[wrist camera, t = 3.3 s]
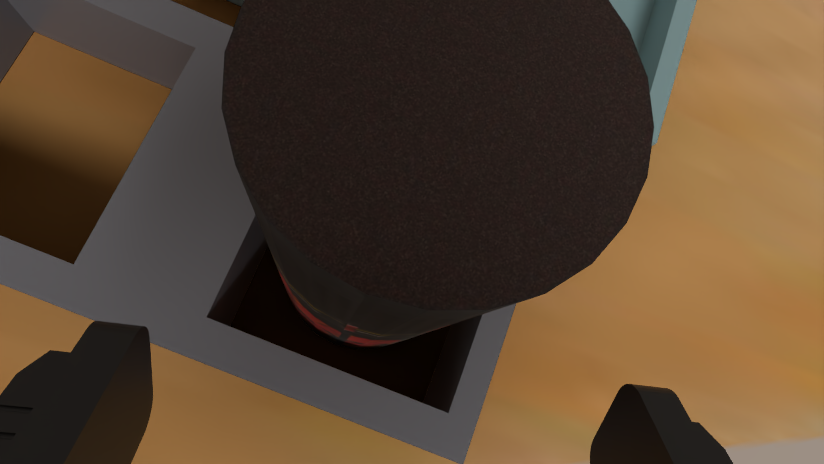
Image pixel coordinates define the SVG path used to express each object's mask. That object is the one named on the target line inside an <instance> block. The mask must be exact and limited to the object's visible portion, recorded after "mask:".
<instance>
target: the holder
mask: <svg viewBox="0 0 824 464" xmlns="http://www.w3.org/2000/svg"><path fill="white" fill-rule="evenodd" d="M233 28H234V27H232V26H229V25H227V24H225V23H222V22H220V21H218V20H215V19H213V18H211V17H208V16H206V15H204V14H201V13H199V12H197V11H194V10H192V9H190V8H187V7H185V6H183V5H180V4H178V3H176V2H173V1H171V0H0V82H1V80H2V79H3V77H4V76H5V74H6V73H7V71H8V70H9V68H10V67H11V65H12V64H13V62H14V61H15V59H16V58H17V56H18V55H19V53H20V52H21V50H22V49H23V47H24V46H25V44H26V43H27V41H28V40H29V38H30V37H31V35H32V34H33V32H37V33H39V34H41V35H44V36H46V37H49V38H51V39H53V40H56V41H58V42H61V43H63V44H65V45H68V46H70V47H72V48H75V49H77V50H80V51H82V52H84V53H87V54H89V55H91V56H94V57H96V58H99V59H101V60H103V61H106V62H108V63H111V64H113V65H115V66H118V67H120V68H122V69H125V70H127V71H130V72H132V73H134V74H137V75H139V76H142V77H144V78H146V79H149V80H151V81H153V82H156V83H158V84H161V85H163V86H165V87H168V88H170V89H172V91H171V92H170V94H169V96H168V98H167V100H166V101H165V103H164V105H163V107H162V108H161V110H160V112H159V114H158V115H157V117H156V119H155V121H154V123H153V124H152V126H151V128H150V130H149V131H148V133H147V135H146V137H145V139H144V140H143V142H142V144H141V146H140V147H139V149H138V151H137V153H136V155H135V156H134V158H133V160H132V162H131V163H130V165H129V167H128V169H127V171H126V172H125V174H124V176H123V178H122V179H121V181H120V183H119V185H118V186H117V188H116V190H115V192H114V194H113V195H112V197H111V199H110V201H109V202H108V204H107V206H106V208H105V210H104V211H103V213H102V215H101V217H100V218H99V220H98V222H97V224H96V226H95V227H94V229H93V231H92V233H91V234H90V236H89V238H88V240H87V242H86V243H85V245H84V247H83V249H82V250H81V252H80V254H79V256H78V257H77V259H76V261H75V263H74V264H71V263H69V262H66V261H64V260H61V259H58V258H56V257H53V256H51V255H48V254H46V253H43V252H41V251H38V250H36V249H33V248H31V247H28V246H26V245H23V244H21V243H18V242H16V241H13V240H11V239H8V238H6V237H3V236H1V235H0V284H2V285H5V286H8V287H10V288H13V289H15V290H18V291H20V292H23V293H25V294H28V295H30V296H33V297H36V298H38V299H41V300H43V301H46V302H48V303H51V304H53V305H56V306H59V307H61V308H64V309H66V310H69V311H71V312H74V313H76V314H79V315H82V316H84V317H87V318H89V319H92V320H94V321H103V322H112V323H121V324H129V325H138V326H145V327H147V328H148V331H149V336H150V343H153V344H156V345H158V346H161V347H163V348H166V349H168V350H171V351H173V352H176V353H179V354H181V355H184V356H186V357H189V358H191V359H194V360H196V361H199V362H202V363H204V364H207V365H209V366H212V367H214V368H217V369H219V370H222V371H224V372H227V373H230V374H232V375H235V376H237V377H240V378H242V379H245V380H247V381H250V382H253V383H255V384H258V385H260V386H263V387H265V388H268V389H270V390H273V391H276V392H278V393H281V394H283V395H286V396H288V397H291V398H293V399H296V400H299V401H301V402H304V403H306V404H309V405H311V406H314V407H316V408H319V409H321V410H324V411H327V412H329V413H332V414H334V415H337V416H339V417H342V418H344V419H347V420H350V421H352V422H355V423H357V424H360V425H362V426H365V427H367V428H370V429H373V430H375V431H378V432H380V433H383V434H385V435H388V436H390V437H393V438H396V439H398V440H401V441H403V442H406V443H408V444H411V445H413V446H416V447H418V448H421V449H424V450H426V451H429V452H431V453H434V454H436V455H439V456H441V457H444V458H447V459H449V460H452V461H454V462H457V463H459V464H463V463H464V460H465V457H466V454H467V451H468V448H469V445H470V442H471V439H472V436H473V433H474V430H475V427H476V424H477V421H478V418H479V415H480V412H481V409H482V406H483V403H484V399H485V396H486V393H487V390H488V387H489V384H490V381H491V378H492V375H493V372H494V369H495V366H496V363H497V360H498V357H499V354H500V351H501V348H502V345H503V342H504V339H505V336H506V333H507V330H508V327H509V324H510V321H511V317H512V314H513V311H514V308H515V305H516V303H515V304H512V305H509V306H506V307H503V308H500V309H497V310H494V311H491V312H488V313H485V314H482V315H479V316H476V317H473V318H470V319H467V320H464V321H461V322H458V323H455V324H452V325H450V328H449V331H448V334H447V336H446V339H445V342H444V345H443V348H442V350H441V353H440V356H439V359H438V362H437V364H436V367H435V370H434V373H433V375H432V378H431V381H430V384H429V387H428V389H427V392H426V395H425V398H424V401H423V403H421V402H419V401H416V400H414V399H411V398H409V397H406V396H404V395H401V394H399V393H396V392H394V391H391V390H389V389H386V388H384V387H381V386H379V385H376V384H373V383H371V382H368V381H366V380H363V379H361V378H358V377H356V376H353V375H351V374H348V373H346V372H343V371H341V370H338V369H336V368H333V367H331V366H328V365H326V364H323V363H321V362H318V361H316V360H313V359H310V358H308V357H305V356H303V355H300V354H298V353H295V352H293V351H290V350H288V349H285V348H283V347H280V346H278V345H275V344H273V343H270V342H268V341H265V340H263V339H260V338H258V337H255V336H253V335H250V334H247V333H245V332H242V331H240V330H237V329H235V328H232V327H230V326H231V324H232V321H233V319H234V317H235V315H236V313H237V311H238V309H239V306H240V304H241V302H242V300H243V298H244V296H245V294H246V291H247V289H248V287H249V285H250V283H251V281H252V279H253V277H254V274H255V272H256V270H257V268H258V266H259V264H260V262H261V259H262V257H263V255H264V253H265V251H266V249H267V247H268V244H267V242H266V239H265V237H264V234H263V232H262V229H261V227H260V224H259V222H258V220H257V217H256V215H255V212H254V210H253V207H252V205H251V202H250V200H249V197H248V195H247V193H246V190H245V188H244V185H243V183H242V180H241V178H240V175H239V173H238V171H237V168H236V166H235V162H234V158H233V154H232V150H231V146H230V142H229V137H228V133H227V129H226V125H225V121H224V117H223V113H222V109H221V105H222V87H223V69H224V52H225V49H226V46H227V44H228V41H229V38H230V36H231V33H232V30H233Z"/></svg>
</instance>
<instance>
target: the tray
mask: <svg viewBox="0 0 824 464" xmlns="http://www.w3.org/2000/svg"><path fill="white" fill-rule="evenodd" d="M227 1H230V2H232V3H234V4H237V5H239V6H242V4H243V1H244V0H227ZM609 1H610V3H611V4H612V6H613V7H614V9H615V10H616V11H617V13H618V14H619V16H620V17H621V19H622V20H623V22H624V23H625V24H626V26H627V27H628V29H629V30H630V33H631V35H632V38H633V41H634V43H635V46H636V48H637V51H638V53H639V56H640V58H641V61H642V64H643V66H644V69H645V71H646V74H647V76H648V82H649V90H650V98H651V106H652V114H653V121H654V132H653V139H652V146H653V145H654V144H656V143H657V140H658V136H659V133H660V129H661V126H662V122H663V119H664V115H665V111H666V108H667V104H668V101H669V97H670V94H671V90H672V87H673V83H674V79H675V76H676V72H677V69H678V65H679V62H680V58H681V55H682V51H683V47H684V44H685V40H686V37H687V33H688V30H689V26H690V23H691V19H692V15H693V12H694V8H695V5H696V1H697V0H609Z"/></svg>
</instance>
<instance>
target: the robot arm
mask: <svg viewBox="0 0 824 464" xmlns="http://www.w3.org/2000/svg"><path fill="white" fill-rule="evenodd" d="M152 401H153V385H152V368H151V352H150V336H149V331H148V328H147V327H145V326H138V325H129V324H121V323H112V322H103V321H94V322H93V323H92V324H91V325H89V327H88V328H87V329H86V331H85V332H84V334H83V335H82V337H81V338H80V340H79V341H78V343H77V344H76V346H75V347H74V349H73V350H72V352H71V353H70V352H61V351H51V350H50V351H49V352H47V353H46V354H44V355H43V356H41V357H40V358H39V359H37V360H36V361H34V362H33V363H31V364H30V365H29V366H27V367H26V368H24V369H23V370H21V371H20V372H19V373H17V374H16V375H15V377H14V378H13V379H12V381H11V382H10V383H9V384H8V386H7V387H6V388H5V390H4V391H3V392H2V394H1V395H0V464H131V462H132V460H133V458H134V455H135V453H136V451H137V449H138V446H139V444H140V442H141V440H142V437H143V435H144V433H145V430H146V427H147V424H148V421H149V417H150V413H151V408H152ZM590 464H733V462H732V461H731V459H730V457H729V456H728V454H727V452H726V450H725V449H724V448H723V447H722V446H721V445H720V444H719V443H718V442H717V441H716V440H715V439H714V438H713V437H712V436H711V435H710V434H709V433H708V432H707V431H706V430H705V429H704V427H703V426H702V425H701V424H700V423H697V422H692V421H691V420H690V418H689V416H688V414H687V413H686V411H685V409H684V407H683V405H682V404H681V402H680V400H679V398H678V397H677V395H676V394H675V393H674V392H673V391H672V390H670V389H668V388H659V387H651V386H642V385H633V384H626V385H624V386H622V387H621V388H620V390H619V391H618V393H617V395H616V397H615V399H614V401H613V403H612V404H611V406H610V408H609V410H608V412H607V414H606V416H605V418H604V420H603V422H602V424H601V426H600V428H599V429H598V431H597V433H596V435H595V437H594V439H593V442H592V445H591V451H590Z"/></svg>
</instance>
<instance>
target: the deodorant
mask: <svg viewBox="0 0 824 464" xmlns="http://www.w3.org/2000/svg"><path fill="white" fill-rule="evenodd" d="M221 109H222V113H223V117H224V121H225V125H226V129H227V133H228V137H229V142H230V146H231V150H232V154H233V158H234V162H235V166H236V168H237V171H238V173H239V175H240V178H241V180H242V183H243V185H244V188H245V190H246V193H247V195H248V197H249V200H250V202H251V205H252V207H253V210H254V212H255V215H256V217H257V220H258V222H259V224H260V227H261V229H262V232H263V234H264V237H265V239H266V242H267V244H268V246H269V249H270V251H271V254H272V256H273V259H274V261H275V264H276V266H277V268H278V271H279V273H280V276H281V278H282V281H283V283H284V286H285V288H286V290H287V293H288V295H289V298H290V300H291V302H292V304H293V306H294V308H295V309H296V311H297V313H298V315H299V316H300V318H301V320H302V321H303V322H304V323H305V324H306V325H307V326H308V327H309V328H310V329H311V330H312V331H313V332H314V333H315V334H317V335H319V336H320V337H322V338H324V339H326V340H327V341H329V342H331V343H333V344H334V345H338V346H342V347H346V348H350V349H354V350H357V349H377V348H381V347H384V346H388V345H391V344H394V343H398V342H401V341H404V340H407V339H410V338H413V337H416V336H419V335H422V334H425V333H428V332H431V331H434V330H437V329H440V328H443V327H446V326H449V325H452V324H455V323H458V322H461V321H464V320H467V319H470V318H473V317H476V316H479V315H482V314H485V313H488V312H491V311H494V310H497V309H500V308H503V307H506V306H509V305H512V304H515V303H518V302H521V301H524V300H528V299H531V298H534V297H537V296H540V295H543V294H545V293H547V292H549V291H550V290H552V289H553V288H555V287H556V286H558V285H559V284H561V283H563V282H564V281H566V280H567V279H569V278H570V277H572V276H574V275H575V274H577V273H578V272H580V271H581V270H583V269H585V268H586V267H588V266H589V265H591V264H592V263H593V262H594V261H595V260H596V258H597V257H598V256H599V255H600V254H601V252H602V251H603V250H604V249H605V248H606V247H607V245H608V244H609V243H610V242H611V241H612V240H613V238H614V237H615V236H616V235H617V234H618V233H619V231H620V230H621V229H622V228H623V227H624V226H625V224H626V223H627V221H628V219H629V216H630V214H631V212H632V210H633V207H634V205H635V203H636V201H637V199H638V196H639V194H640V192H641V190H642V187H643V185H644V183H645V181H646V179H647V175H648V168H649V161H650V154H651V147H652V139H653V132H654V121H653V114H652V106H651V98H650V90H649V82H648V76H647V74H646V71H645V69H644V66H643V64H642V61H641V58H640V56H639V53H638V51H637V48H636V46H635V43H634V41H633V38H632V35H631V33H630V30H629V29H628V27H627V26H626V24H625V23H624V22H623V20H622V19H621V17H620V16H619V14H618V13H617V11H616V10H615V9H614V7H613V6H612V4H611V3H610V1H609V0H244V1H243V4H242V6H241V9H240V12H239V14H238V17H237V20H236V22H235V25H234V28H233V30H232V33H231V36H230V38H229V41H228V44H227V46H226V49H225V52H224V69H223V87H222V105H221Z"/></svg>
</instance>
